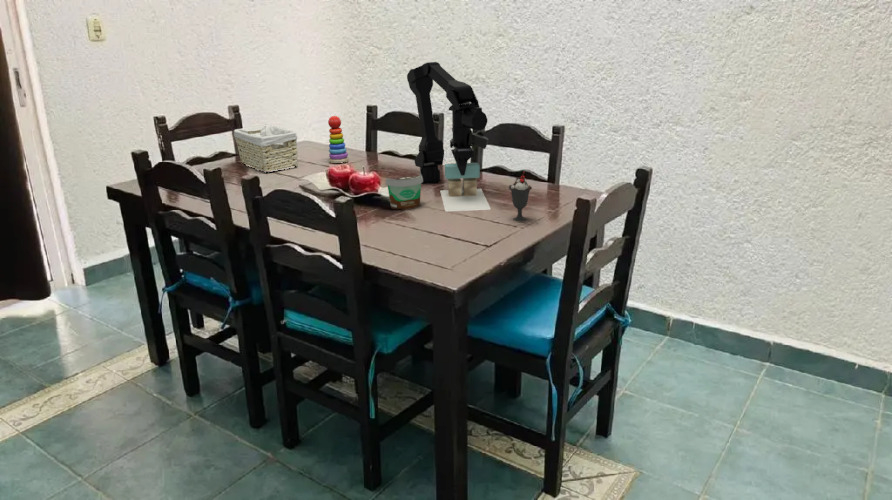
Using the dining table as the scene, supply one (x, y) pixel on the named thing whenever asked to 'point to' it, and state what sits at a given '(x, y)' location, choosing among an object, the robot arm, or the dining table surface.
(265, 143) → the storage basket
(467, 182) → the post
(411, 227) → the dining table surface
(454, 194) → the post
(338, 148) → the stacking toy
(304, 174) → the dining table surface
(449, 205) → the build mat
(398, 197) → the food container
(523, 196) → the sundae
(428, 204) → the dining table surface
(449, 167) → the lintel
